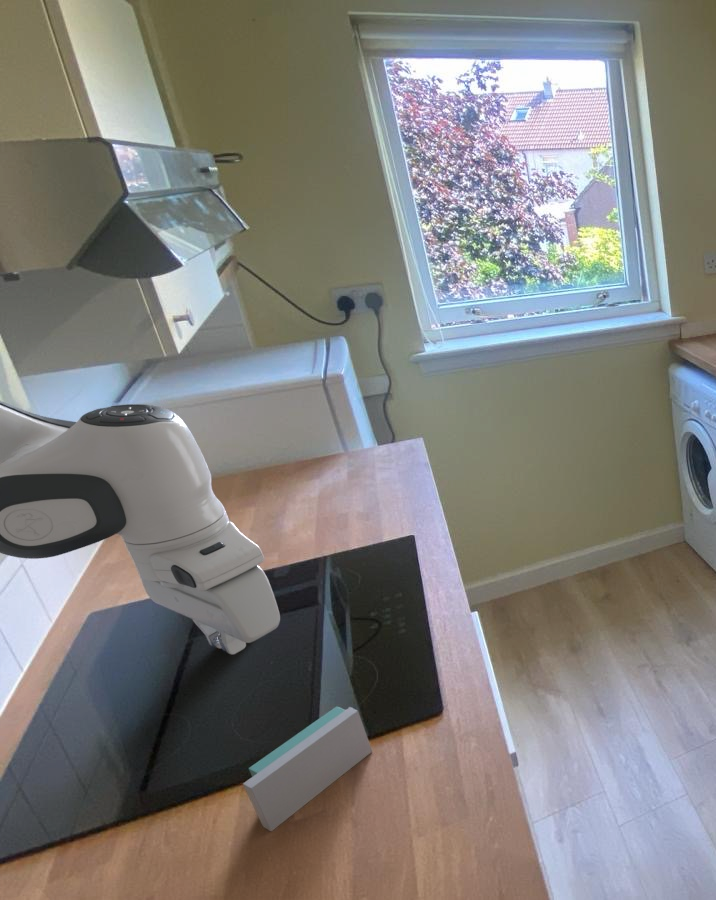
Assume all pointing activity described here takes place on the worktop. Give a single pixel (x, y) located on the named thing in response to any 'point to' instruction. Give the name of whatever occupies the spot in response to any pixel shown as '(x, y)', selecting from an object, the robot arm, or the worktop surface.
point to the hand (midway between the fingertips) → (229, 647)
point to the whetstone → (306, 765)
